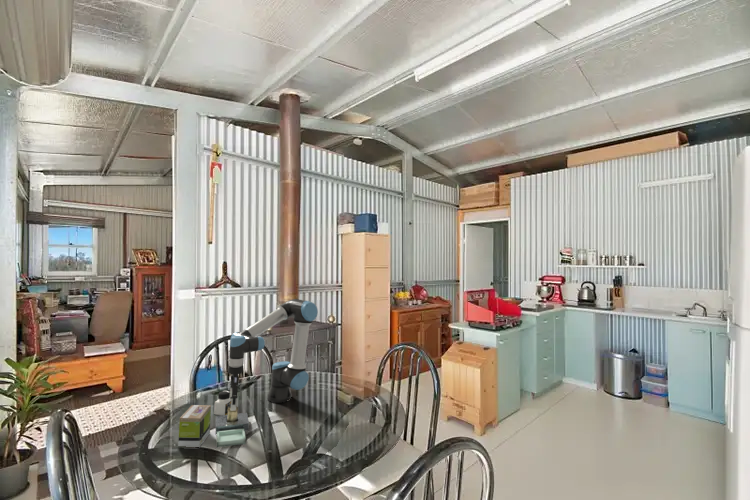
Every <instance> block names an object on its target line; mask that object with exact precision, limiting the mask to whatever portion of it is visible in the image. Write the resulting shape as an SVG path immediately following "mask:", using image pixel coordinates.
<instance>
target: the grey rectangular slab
mask: <svg viewBox="0 0 750 500" xmlns="http://www.w3.org/2000/svg"><path fill="white" fill-rule="evenodd" d="M227 416H228V414H227V415H216V416H215V435H216V434H217V432H218V431H226V430H235V429H243V428H244V431H245V432H249V427H250V422H249V421H250V420H249V417H248V416H249V415H248V412H240V413H238V415H237V421H236V422H227Z"/></svg>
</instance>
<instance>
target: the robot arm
mask: <svg viewBox="0 0 750 500" xmlns="http://www.w3.org/2000/svg"><path fill="white" fill-rule="evenodd" d="M317 316H318V307H317V306H316V303H314V302H312V301H310V300H304V299H299V298H293V299H289V300H287V301H284V303H281V304H280V305H278V306H277V307H276V309H274V310H273V311H272V312H270V313H269V314H267V315H266V316H264V317H262V318H261V319H259V320H258V321H256V322H254V323H253V324H251V325H249V327H246V328H245V329H244V330H242V331H241V332H240V331H235V332H234V333H232V334H231V336H230V341H229V354H228V359H227V362H228V367H227V374H229V375H230V390H229V392H230V401H231V409H230V411H235V410H236V406H237V405H238V404H237V403H238V396H239V395H238V392H239V391H238V389H239V388H238V387H239V380H240V376H239V375H241V374H242V373H243V372H244V371H243V370H244V363H245V360H244V359H245V354H246V353H252V352H259V351H262V350H263V349H264V348H265V344H266V341H265V339H264V337H263V336H261V335H262V334H263V333H265V332H266V331H268V330H269V329H272V328H273V327H274V326H275V325H277V324H279V323H281V322H282V321H283V320H285V321H286V320H287V319H289V318H293V322H294V324H295V326H294V335H293V342H292V347H291V349H292V350H291V356H290V361H277V362H274V363H273V364H272V367H271V381H270V383H271V384H270V388H269V390H268V393H267V396H266V397H267V398H266V399H267V401H268V400H269V401H268V402H270V401H271V402H270V403H273V404H282V402H283V403H286V402H285V401H287V400H289V399H291V400H292V398H291V397H293V396H292V395H293V394H292V391H291V390H295V391H299V390H302V389H304V388H305V387H306V386H307V384H308V383H309V378H310V376H309V374H308V372H307V366H306V364H305V360H306V355H307V354H306V353H307V347H308V346H307V345H308V339H309V333H310V332H309V331H310V326H311V325H312V324H313V321H314V320H316V318H317ZM289 401H290V400H289ZM287 402H288V401H287Z"/></svg>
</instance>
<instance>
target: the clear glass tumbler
mask: <svg viewBox="0 0 750 500" xmlns="http://www.w3.org/2000/svg"><path fill="white" fill-rule="evenodd" d="M230 409H231V407H229V408H228V414H227V415H228V416H227V422H236V421H237V415H238V414H239V413H238V411H239V406H237V405H236V410H235V411H230Z"/></svg>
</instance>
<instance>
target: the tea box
mask: <svg viewBox="0 0 750 500" xmlns="http://www.w3.org/2000/svg"><path fill="white" fill-rule="evenodd" d="M211 414H212V405H210V404H203V405H201V404H191V405H190V406H189V408H188V409H187V410H185V412H184V413H183V414H182V415H181V416H180V417H179V420H178V421H179V423H178V439H177V440H178V442H177V447H178V446H186V447H199V448H201V446H202V445H201V444H204V442H205V440H206V439H207V438H208V436H209V435H210V433H211V419H212V418H211V416H212V415H211ZM206 437H207V438H206ZM203 441H204V442H203ZM200 445H201V446H200Z"/></svg>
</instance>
